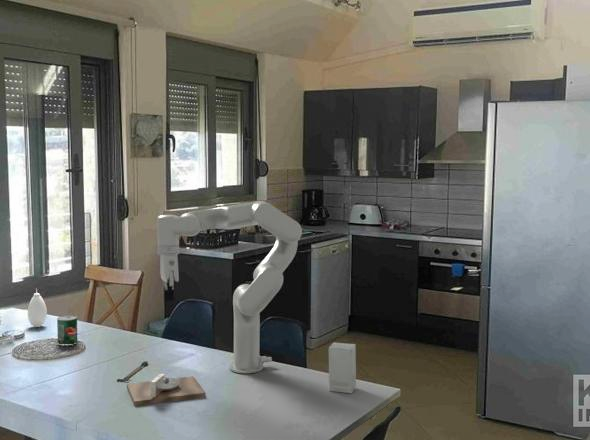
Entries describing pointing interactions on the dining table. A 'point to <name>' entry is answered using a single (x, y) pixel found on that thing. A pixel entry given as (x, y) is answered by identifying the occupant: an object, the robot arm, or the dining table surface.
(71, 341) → the canned tomato
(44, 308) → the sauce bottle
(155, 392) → the dial
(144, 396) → the dial plate
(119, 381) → the tan handled tool
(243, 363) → the robot arm
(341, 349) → the skincare box
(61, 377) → the dining table surface
